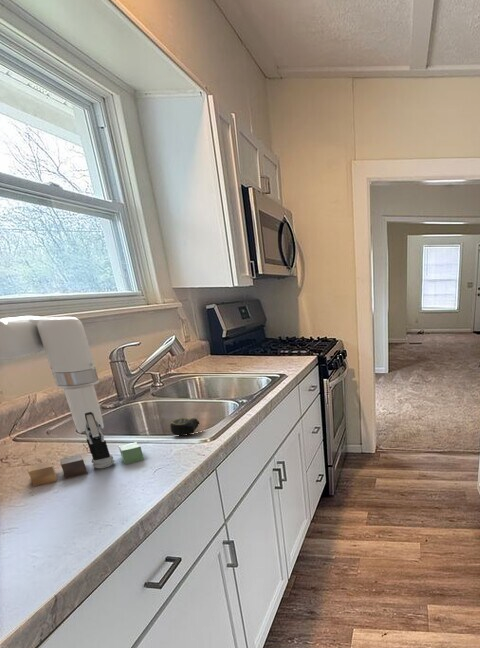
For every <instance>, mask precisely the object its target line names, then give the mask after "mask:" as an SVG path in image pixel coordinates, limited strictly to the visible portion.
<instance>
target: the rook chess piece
mask: <svg viewBox="0 0 480 648" xmlns="http://www.w3.org/2000/svg"><path fill="white" fill-rule="evenodd" d="M98 433H99V432H98ZM90 435H91V433H90ZM102 435H103V438H105V435H104V433H102ZM86 438H87V439H88V437H87V436H86ZM87 439H86V440H87ZM91 440H92V439H91ZM92 443H93V442H92ZM109 454H110V457H108V458H104V459H100V460H93V458H91V463H92V464H91V466H92V467H93V468H95V469H105V468H110V467H111V466H113V465H114V463H115V462H116V461H115V459H114V456H113V455H112V454H111V453H110V452H109Z"/></svg>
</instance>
